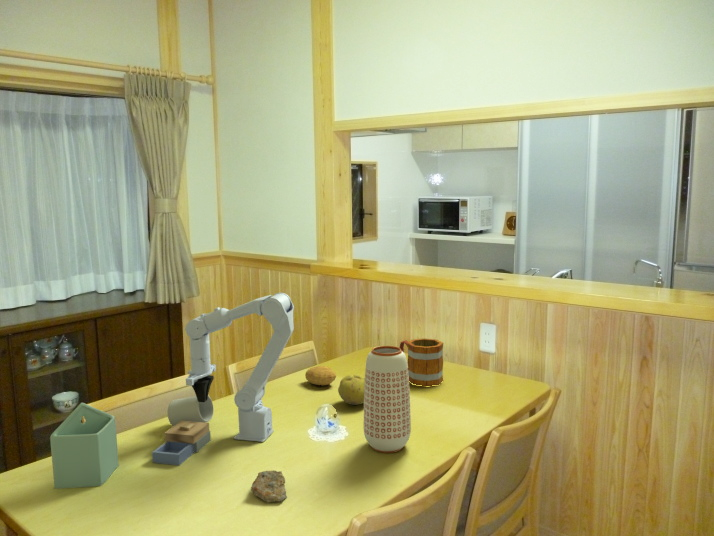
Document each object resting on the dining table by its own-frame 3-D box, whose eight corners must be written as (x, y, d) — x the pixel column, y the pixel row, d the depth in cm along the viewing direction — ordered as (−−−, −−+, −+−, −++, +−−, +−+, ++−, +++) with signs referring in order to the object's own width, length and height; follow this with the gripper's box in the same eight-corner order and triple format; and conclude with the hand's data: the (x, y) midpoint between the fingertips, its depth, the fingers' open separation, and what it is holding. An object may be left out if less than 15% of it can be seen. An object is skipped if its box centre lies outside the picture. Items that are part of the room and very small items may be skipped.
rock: (249, 487, 144) (249, 500, 135) (255, 463, 145) (254, 474, 135) (284, 492, 146) (286, 506, 136) (289, 469, 146) (291, 480, 136)
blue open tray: (194, 452, 163) (194, 442, 163) (179, 465, 156) (178, 454, 155) (169, 449, 165) (168, 439, 165) (152, 462, 158) (152, 452, 157)
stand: (210, 440, 171) (210, 430, 171) (197, 452, 163) (196, 442, 163) (181, 437, 173) (180, 428, 173) (166, 449, 165) (166, 439, 165)
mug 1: (166, 426, 176) (198, 420, 173) (167, 397, 179) (198, 391, 176) (190, 430, 186) (220, 425, 183) (190, 403, 190) (219, 397, 187)
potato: (323, 378, 227) (322, 360, 226) (341, 386, 216) (340, 368, 215) (302, 382, 221) (301, 365, 220) (320, 392, 211) (319, 373, 210)
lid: (209, 430, 171) (208, 420, 170) (193, 443, 162) (193, 432, 161) (181, 428, 173) (181, 417, 172) (164, 440, 164) (164, 430, 164)
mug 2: (450, 381, 220) (451, 342, 218) (427, 390, 211) (427, 349, 209) (412, 370, 235) (412, 333, 233) (388, 377, 226) (388, 340, 224)
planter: (67, 498, 140) (60, 419, 137) (54, 488, 145) (47, 411, 142) (132, 473, 152) (127, 400, 149) (117, 464, 157) (112, 393, 154)
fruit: (332, 408, 195) (332, 379, 194) (346, 396, 206) (345, 369, 205) (363, 412, 191) (363, 383, 190) (376, 400, 202) (375, 372, 200)
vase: (415, 439, 170) (415, 345, 166) (404, 459, 157) (403, 358, 153) (372, 434, 174) (370, 341, 170) (357, 453, 161) (355, 354, 158)
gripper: (200, 349, 182) (202, 392, 183) (175, 363, 168) (177, 408, 170) (221, 351, 180) (223, 393, 182) (197, 364, 166) (199, 410, 168)
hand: (202, 401), depth 176 cm, fingers closed
